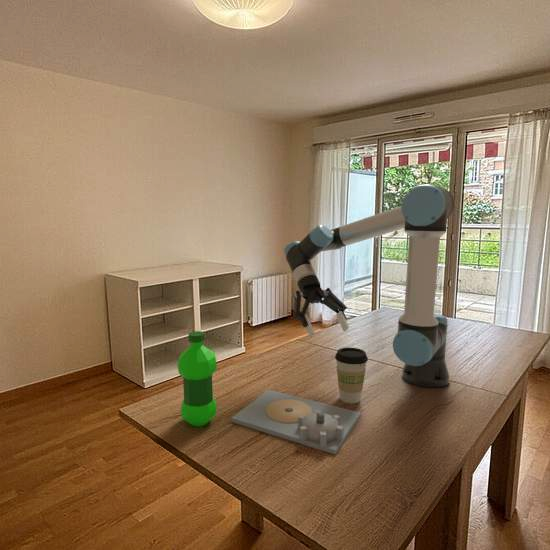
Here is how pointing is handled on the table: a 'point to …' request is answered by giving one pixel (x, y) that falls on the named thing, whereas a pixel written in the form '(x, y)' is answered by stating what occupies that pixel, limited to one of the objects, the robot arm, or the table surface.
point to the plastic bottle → (197, 381)
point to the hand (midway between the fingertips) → (329, 332)
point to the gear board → (299, 420)
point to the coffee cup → (351, 373)
